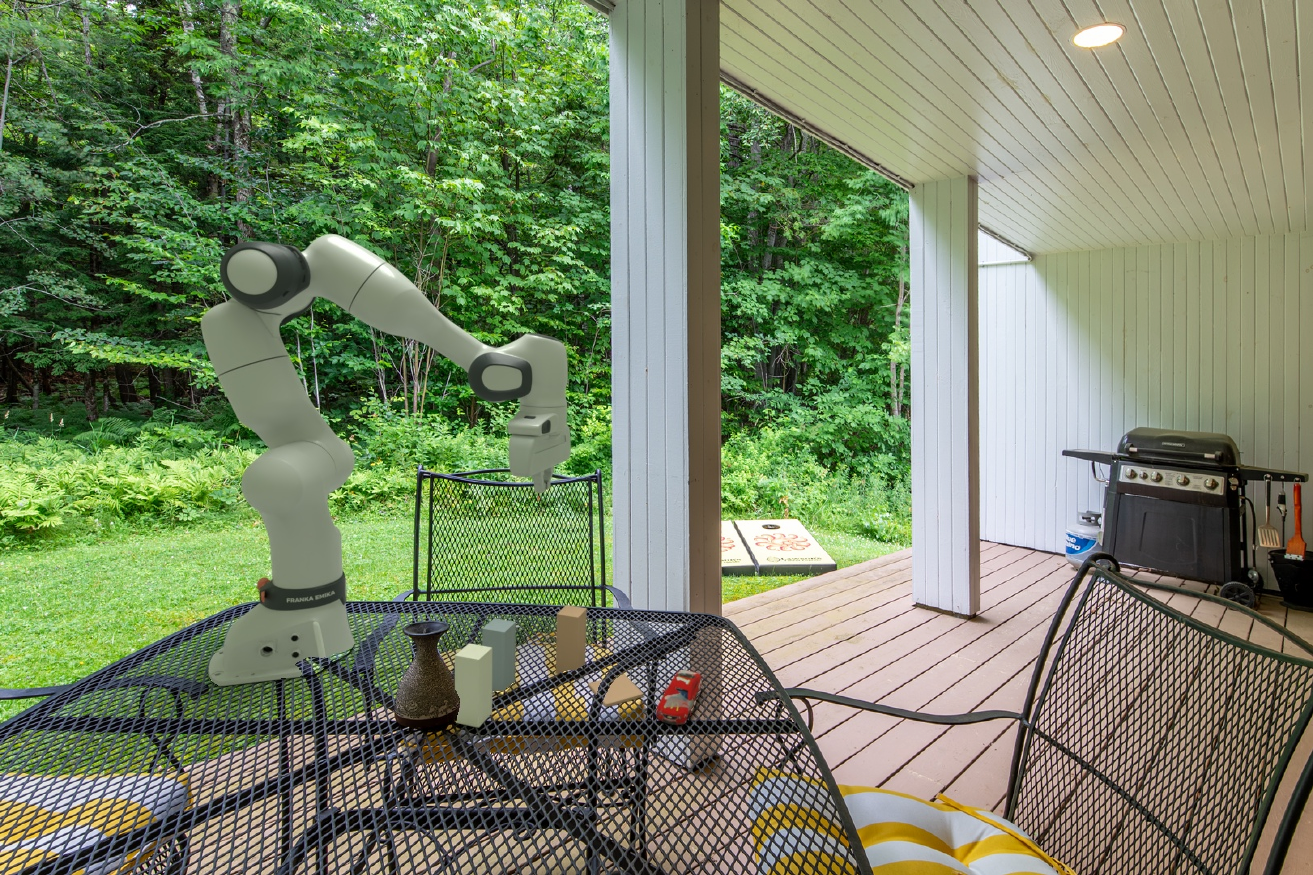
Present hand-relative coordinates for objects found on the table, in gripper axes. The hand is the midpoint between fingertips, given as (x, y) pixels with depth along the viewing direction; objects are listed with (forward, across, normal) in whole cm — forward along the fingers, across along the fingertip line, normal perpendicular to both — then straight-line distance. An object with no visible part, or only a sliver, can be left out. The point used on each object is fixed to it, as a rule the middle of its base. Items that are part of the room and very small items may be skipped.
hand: (542, 490), depth 123 cm
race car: (+30, +16, +32) cm, 47 cm away
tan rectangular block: (+29, +11, +11) cm, 33 cm away
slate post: (+29, +20, +2) cm, 36 cm away
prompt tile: (+29, +16, +21) cm, 39 cm away
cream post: (+29, +30, +3) cm, 42 cm away
